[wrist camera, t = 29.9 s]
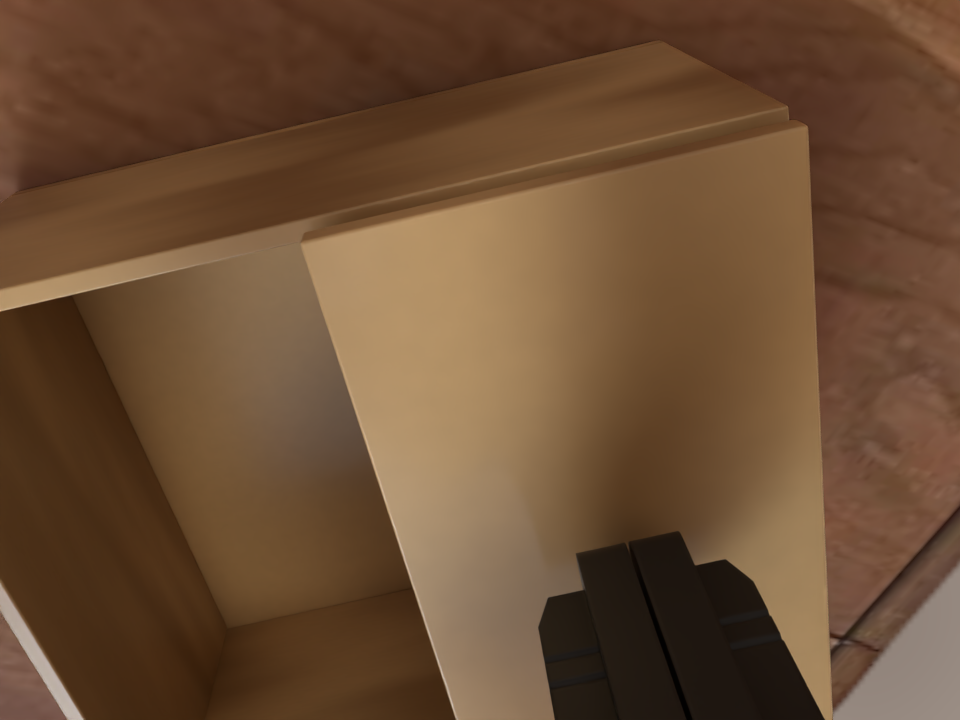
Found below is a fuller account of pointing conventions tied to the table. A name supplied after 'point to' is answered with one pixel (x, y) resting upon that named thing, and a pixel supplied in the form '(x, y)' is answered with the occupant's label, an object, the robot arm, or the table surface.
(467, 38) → the table surface
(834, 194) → the table surface
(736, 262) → the flap
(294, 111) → the table surface
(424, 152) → the wooden box
